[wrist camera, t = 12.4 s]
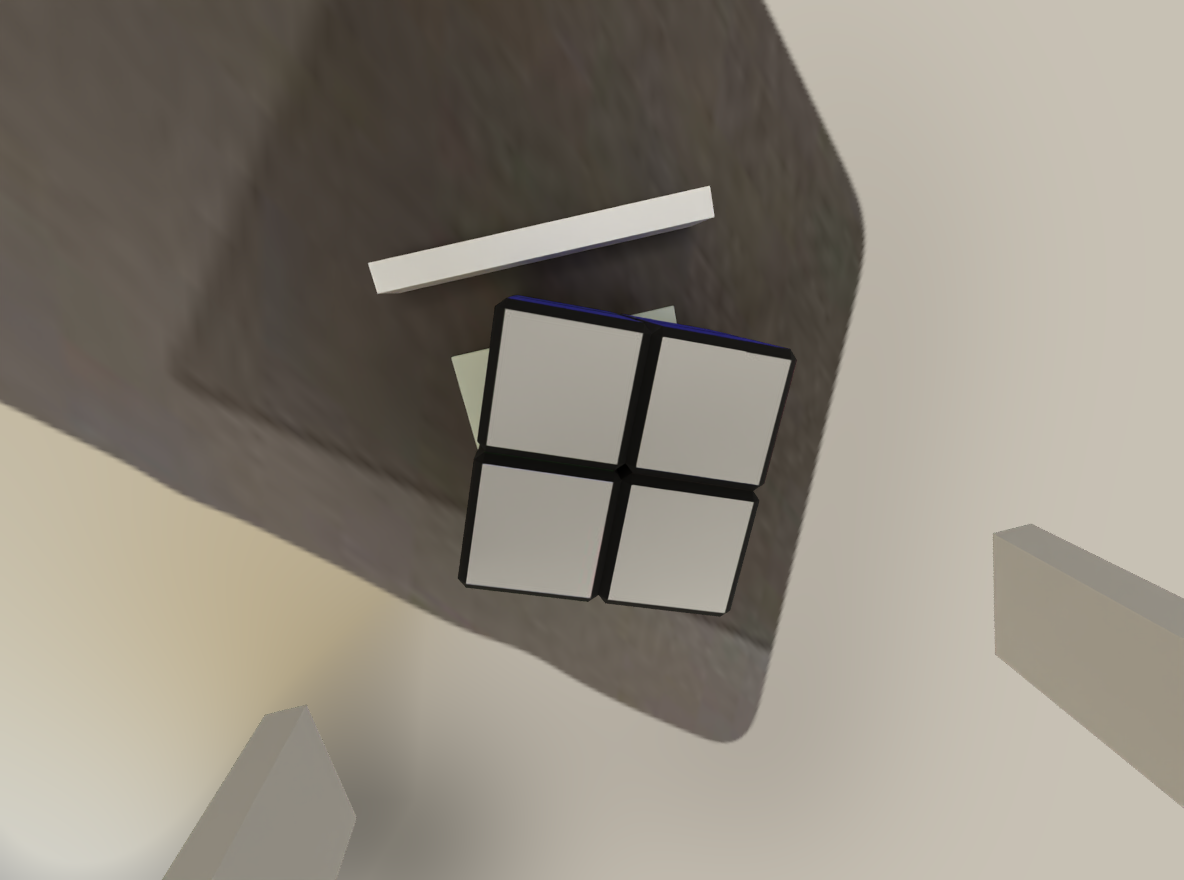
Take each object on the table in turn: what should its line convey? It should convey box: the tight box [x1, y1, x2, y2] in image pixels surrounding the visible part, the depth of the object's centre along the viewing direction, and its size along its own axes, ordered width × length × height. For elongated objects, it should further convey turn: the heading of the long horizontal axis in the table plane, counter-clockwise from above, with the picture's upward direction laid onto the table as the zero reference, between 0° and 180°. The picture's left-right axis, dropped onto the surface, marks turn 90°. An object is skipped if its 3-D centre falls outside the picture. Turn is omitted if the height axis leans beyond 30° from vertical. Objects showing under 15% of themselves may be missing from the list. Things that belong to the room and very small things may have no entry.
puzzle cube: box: [458, 295, 797, 616], centre depth 24 cm, size 10×10×10 cm
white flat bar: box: [368, 186, 714, 294], centre depth 25 cm, size 14×1×4 cm, turn 103°
